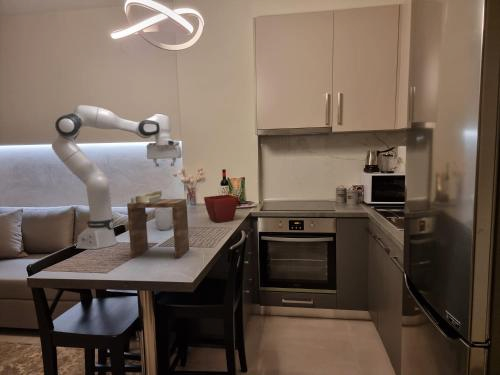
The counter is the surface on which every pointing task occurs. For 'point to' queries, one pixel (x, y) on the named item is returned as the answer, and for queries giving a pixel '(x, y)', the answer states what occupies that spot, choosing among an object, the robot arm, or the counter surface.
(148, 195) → the batten
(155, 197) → the sage channel
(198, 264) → the counter surface
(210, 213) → the plant pot
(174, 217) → the walnut shelf
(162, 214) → the mug
